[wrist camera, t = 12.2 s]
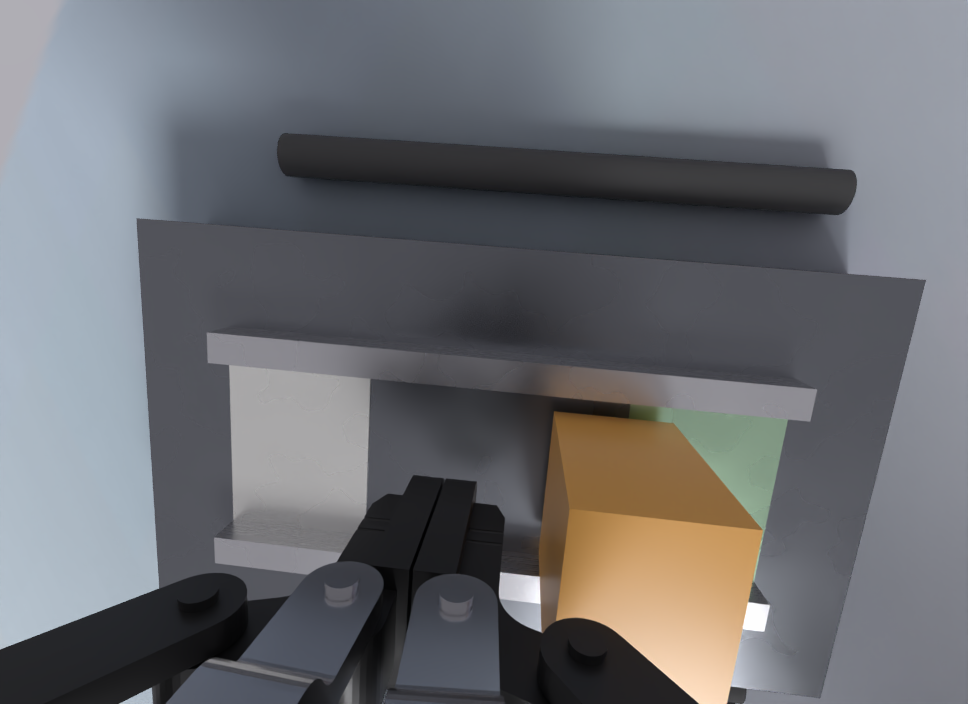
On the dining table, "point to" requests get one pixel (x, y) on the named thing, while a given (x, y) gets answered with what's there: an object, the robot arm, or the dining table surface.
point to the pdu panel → (507, 401)
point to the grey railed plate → (571, 179)
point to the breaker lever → (647, 546)
